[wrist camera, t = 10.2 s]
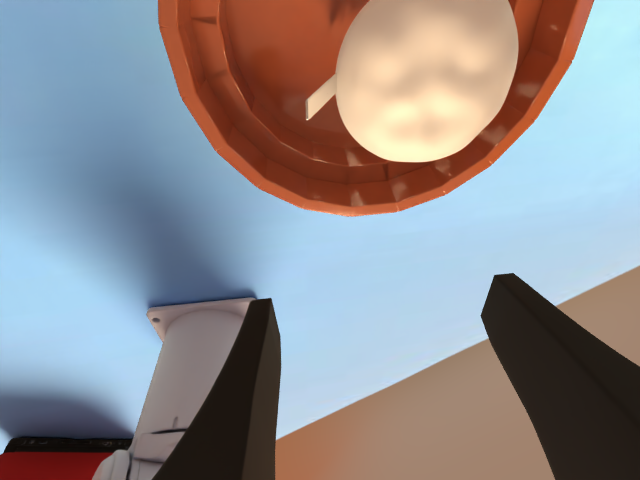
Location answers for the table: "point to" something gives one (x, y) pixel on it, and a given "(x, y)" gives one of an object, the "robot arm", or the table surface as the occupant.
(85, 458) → the handheld console
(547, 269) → the table surface
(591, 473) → the robot arm
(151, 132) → the table surface
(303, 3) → the bowl
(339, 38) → the milkshake
